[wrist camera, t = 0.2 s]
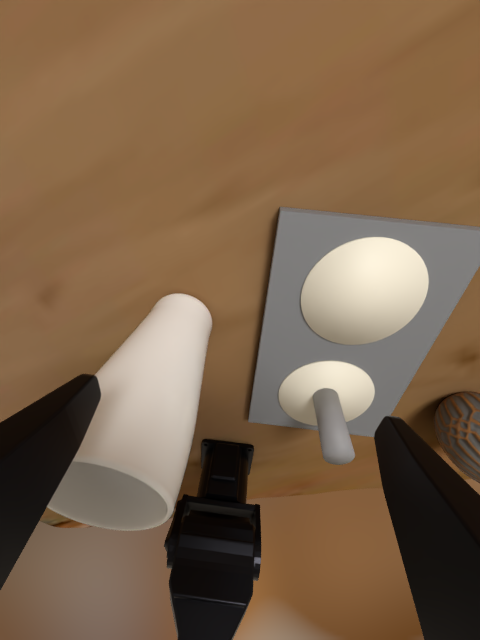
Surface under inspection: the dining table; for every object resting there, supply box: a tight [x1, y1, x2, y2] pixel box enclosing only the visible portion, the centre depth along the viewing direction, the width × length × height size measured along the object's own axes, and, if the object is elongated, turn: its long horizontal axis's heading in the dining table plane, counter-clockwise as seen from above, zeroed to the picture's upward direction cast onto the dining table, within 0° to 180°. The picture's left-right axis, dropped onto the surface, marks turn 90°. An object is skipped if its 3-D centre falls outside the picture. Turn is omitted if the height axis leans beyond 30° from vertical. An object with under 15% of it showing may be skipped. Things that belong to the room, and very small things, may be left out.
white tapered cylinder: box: [47, 293, 212, 531], centre depth 18 cm, size 7×7×15 cm
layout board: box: [248, 207, 480, 465], centre depth 22 cm, size 22×14×7 cm, turn 175°
